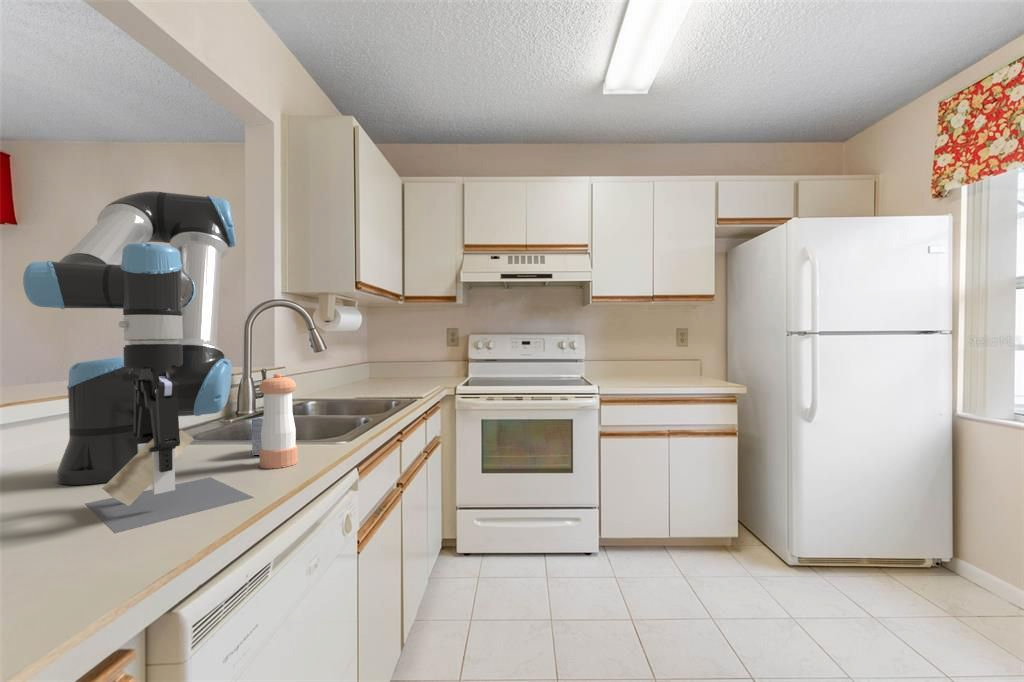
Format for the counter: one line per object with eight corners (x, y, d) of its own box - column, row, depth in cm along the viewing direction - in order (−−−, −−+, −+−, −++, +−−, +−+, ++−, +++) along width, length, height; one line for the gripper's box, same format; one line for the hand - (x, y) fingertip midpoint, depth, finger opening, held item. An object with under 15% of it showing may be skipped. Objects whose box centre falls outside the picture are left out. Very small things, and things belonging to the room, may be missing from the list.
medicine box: (268, 457, 107) (268, 418, 107) (251, 456, 108) (250, 418, 108) (291, 448, 115) (291, 413, 115) (275, 448, 116) (274, 412, 116)
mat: (85, 505, 77) (85, 503, 77) (210, 478, 91) (210, 477, 91) (115, 535, 65) (115, 532, 65) (253, 499, 79) (253, 497, 79)
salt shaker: (288, 457, 106) (286, 371, 106) (304, 463, 102) (302, 373, 101) (253, 465, 101) (252, 374, 100) (269, 470, 96) (267, 375, 96)
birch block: (101, 488, 74) (166, 425, 80) (116, 496, 75) (179, 433, 81) (113, 497, 69) (180, 429, 76) (128, 506, 71) (193, 439, 77)
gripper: (108, 343, 79) (110, 481, 79) (143, 343, 67) (146, 507, 67) (162, 342, 85) (164, 471, 85) (203, 342, 73) (206, 493, 73)
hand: (156, 486), depth 76 cm, fingers closed on birch block, 7 cm apart
